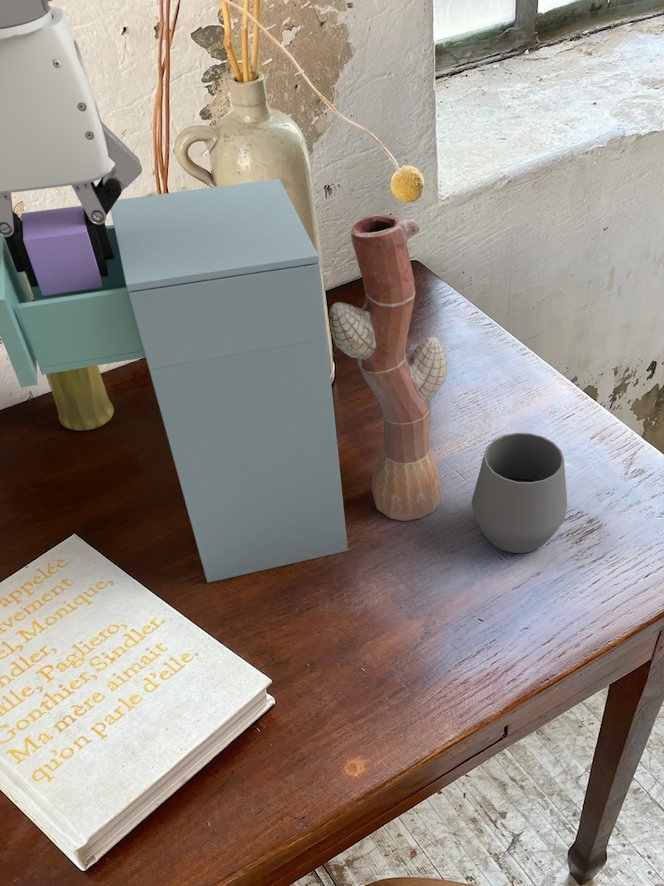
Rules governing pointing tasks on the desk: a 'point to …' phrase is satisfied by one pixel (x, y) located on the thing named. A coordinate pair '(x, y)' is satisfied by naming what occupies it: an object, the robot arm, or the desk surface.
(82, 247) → the lavender foam block
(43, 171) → the robot arm
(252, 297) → the tall blue pedestal box
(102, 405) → the vase
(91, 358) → the mint cabinet drawer
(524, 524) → the cup
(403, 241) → the vase
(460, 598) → the desk surface
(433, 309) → the desk surface
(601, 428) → the desk surface
